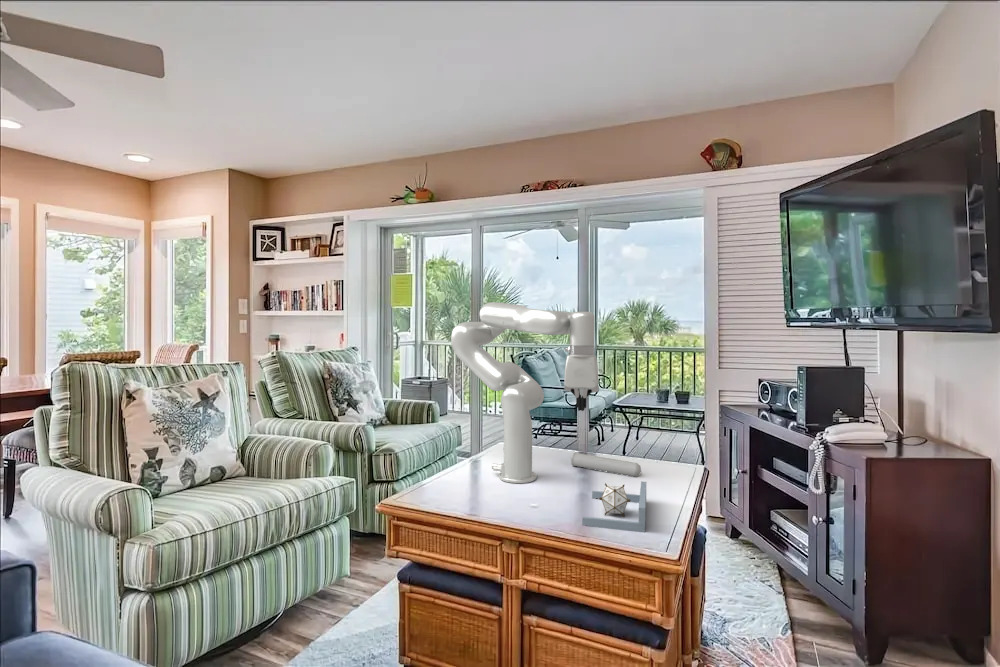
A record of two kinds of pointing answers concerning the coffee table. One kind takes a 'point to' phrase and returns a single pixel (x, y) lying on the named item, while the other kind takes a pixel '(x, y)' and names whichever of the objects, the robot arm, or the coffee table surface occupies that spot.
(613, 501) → the game die
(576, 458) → the tube
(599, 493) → the tray
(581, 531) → the coffee table surface
